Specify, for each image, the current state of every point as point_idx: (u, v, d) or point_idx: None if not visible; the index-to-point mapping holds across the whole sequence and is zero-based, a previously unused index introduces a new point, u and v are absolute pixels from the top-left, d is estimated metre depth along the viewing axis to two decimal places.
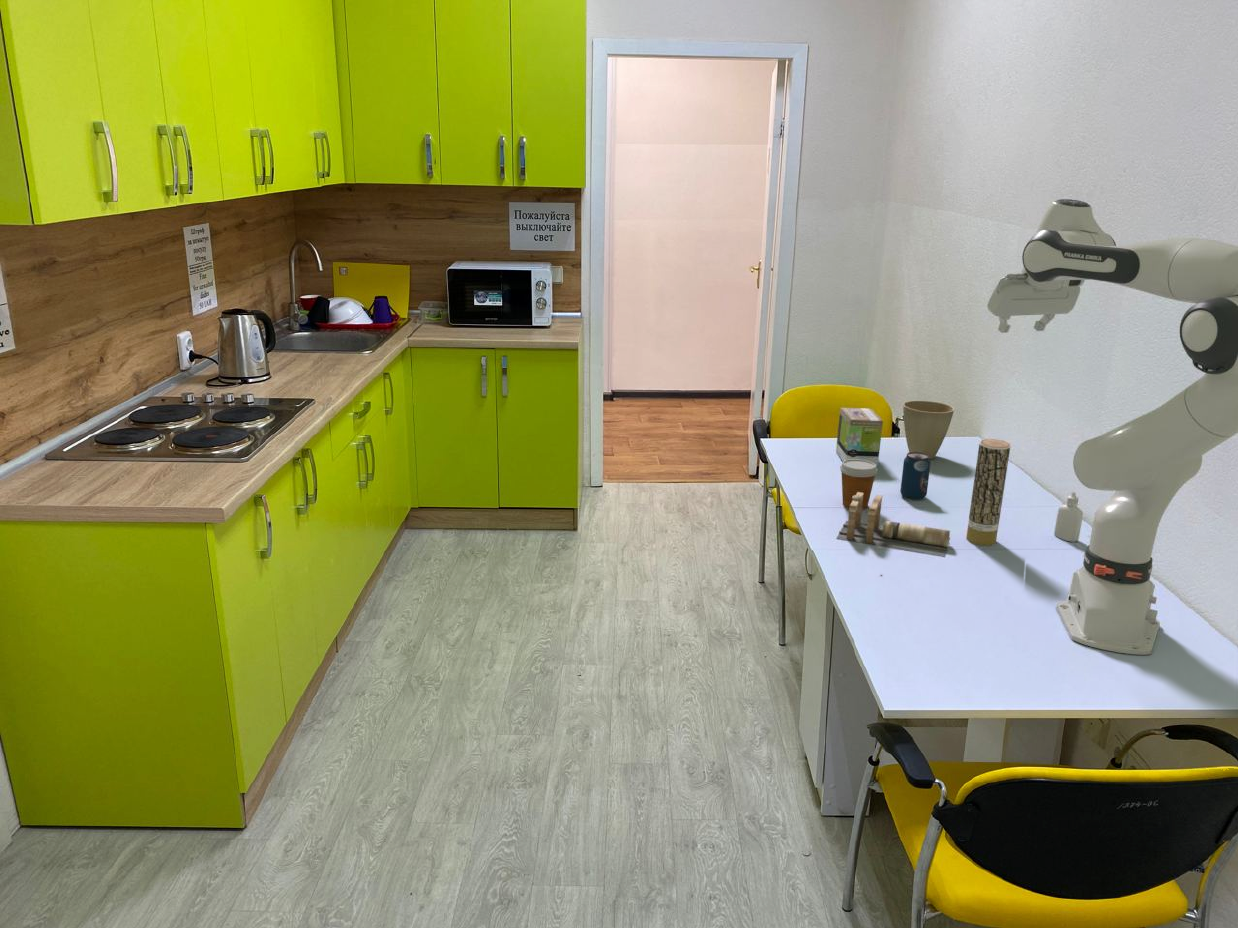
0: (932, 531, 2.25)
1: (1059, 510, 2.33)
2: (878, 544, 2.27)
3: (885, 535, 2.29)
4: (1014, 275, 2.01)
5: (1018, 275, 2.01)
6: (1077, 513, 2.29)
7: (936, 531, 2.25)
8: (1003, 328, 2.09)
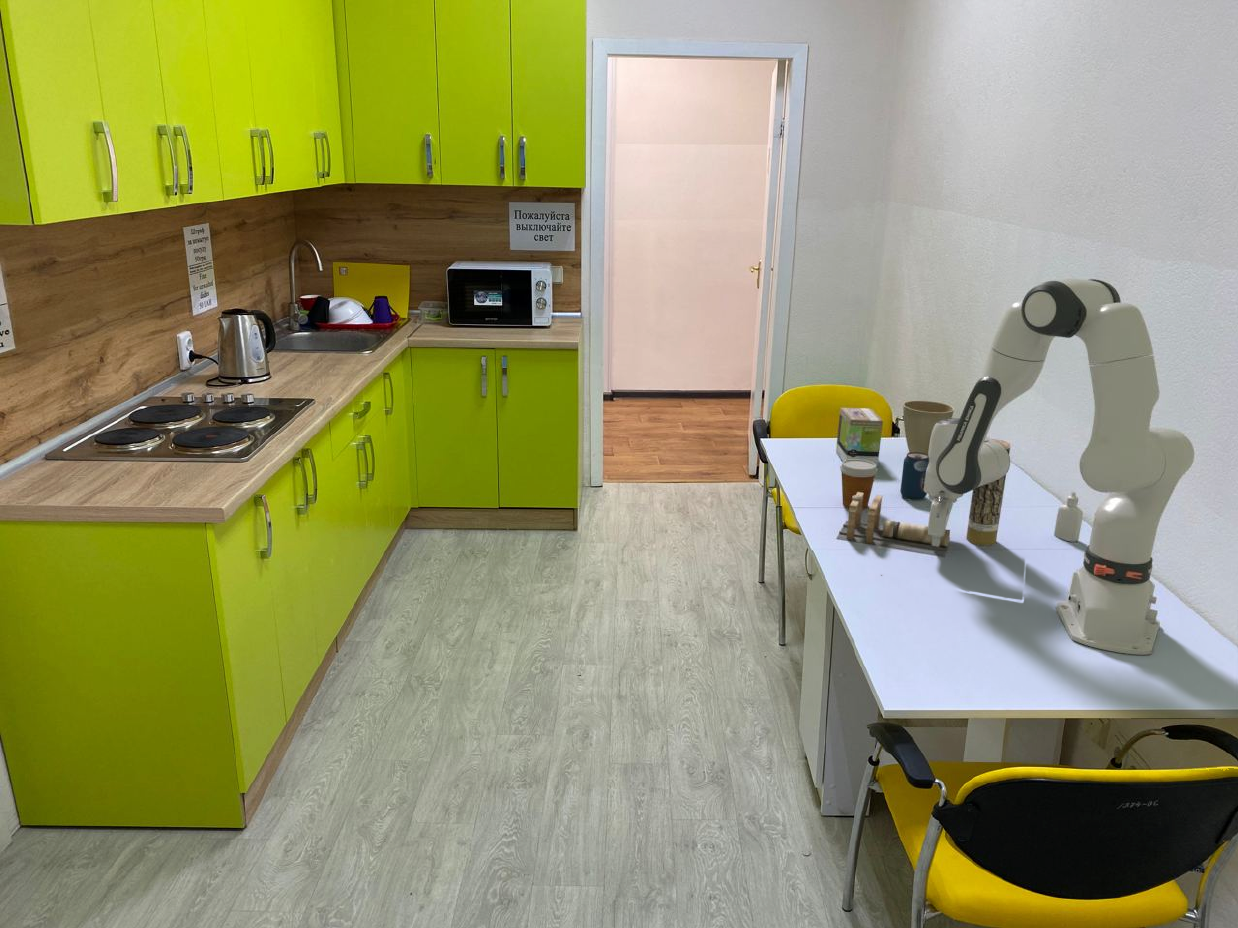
0: None
1: (1059, 510, 2.33)
2: (878, 544, 2.27)
3: (885, 533, 2.29)
4: (942, 496, 2.15)
5: (942, 495, 2.16)
6: (1077, 513, 2.29)
7: None
8: (938, 542, 2.22)
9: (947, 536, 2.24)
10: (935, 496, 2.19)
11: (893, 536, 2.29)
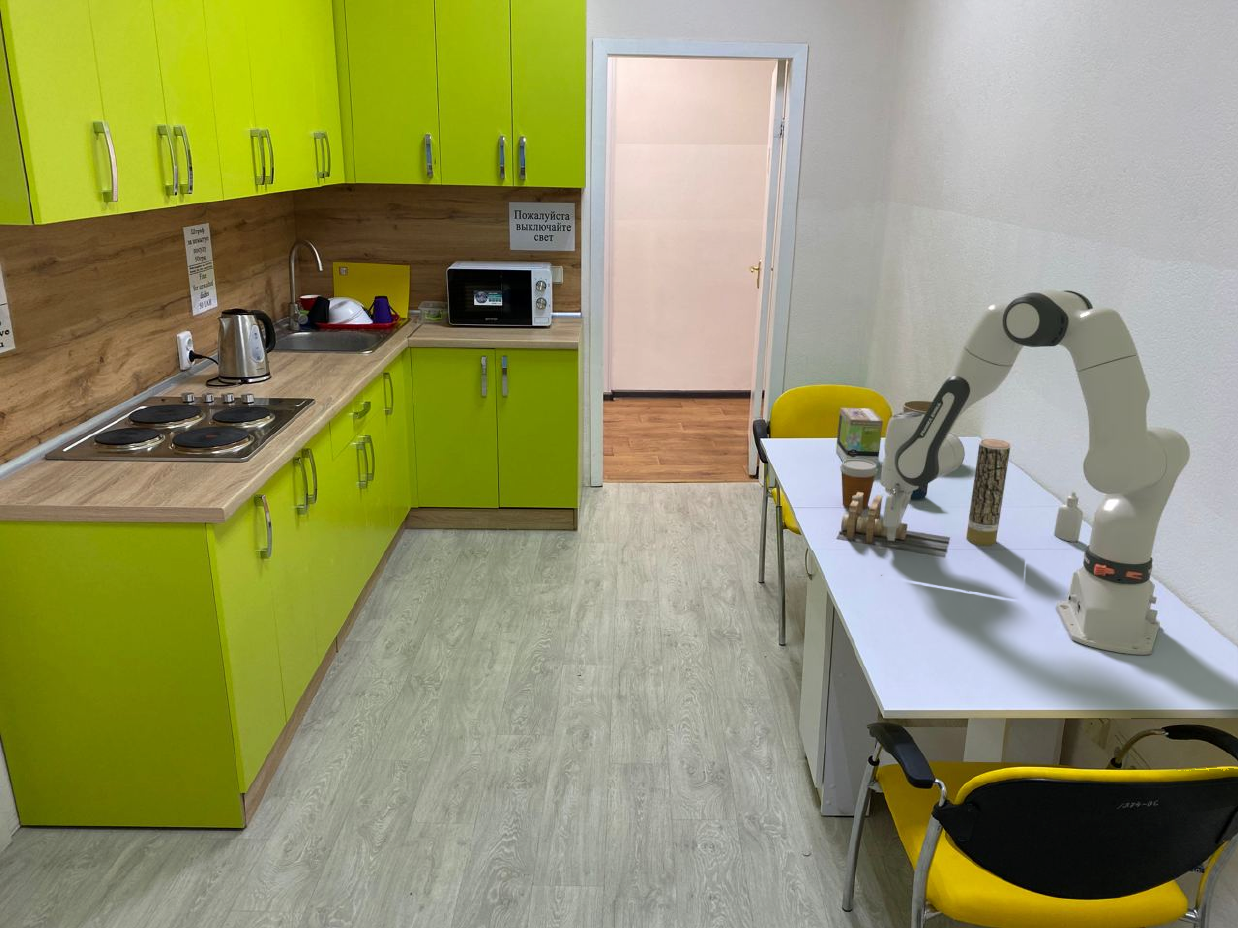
0: None
1: (1059, 510, 2.33)
2: (878, 544, 2.27)
3: (844, 528, 2.33)
4: (897, 489, 2.19)
5: (897, 487, 2.20)
6: (1077, 513, 2.29)
7: None
8: (894, 536, 2.25)
9: (904, 531, 2.27)
10: (891, 489, 2.23)
11: None
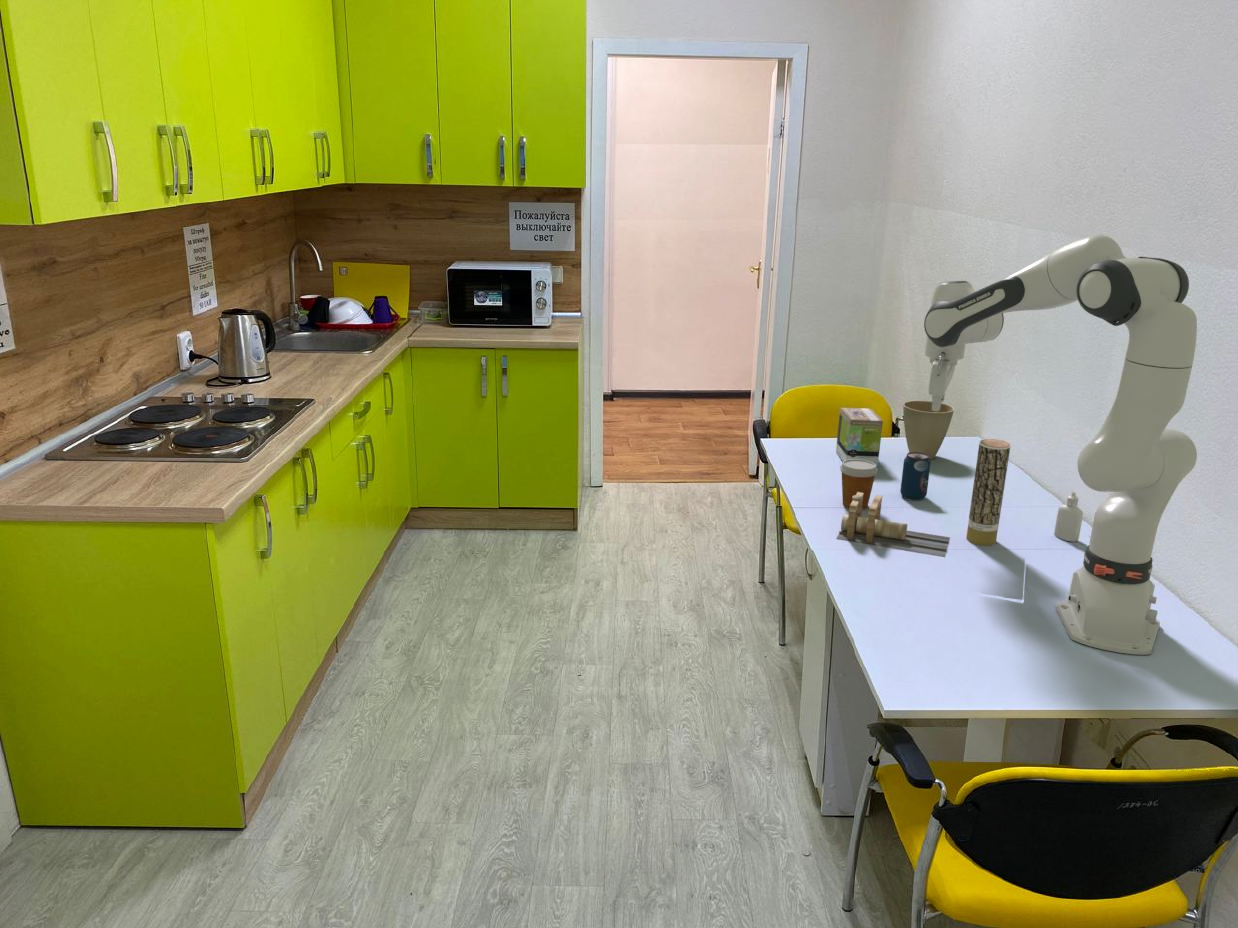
0: (889, 525, 2.29)
1: (1059, 510, 2.33)
2: (878, 544, 2.27)
3: (844, 529, 2.33)
4: (943, 356, 2.19)
5: (943, 355, 2.20)
6: (1077, 513, 2.29)
7: (893, 524, 2.29)
8: (938, 406, 2.25)
9: (903, 532, 2.27)
10: (936, 358, 2.23)
11: None
